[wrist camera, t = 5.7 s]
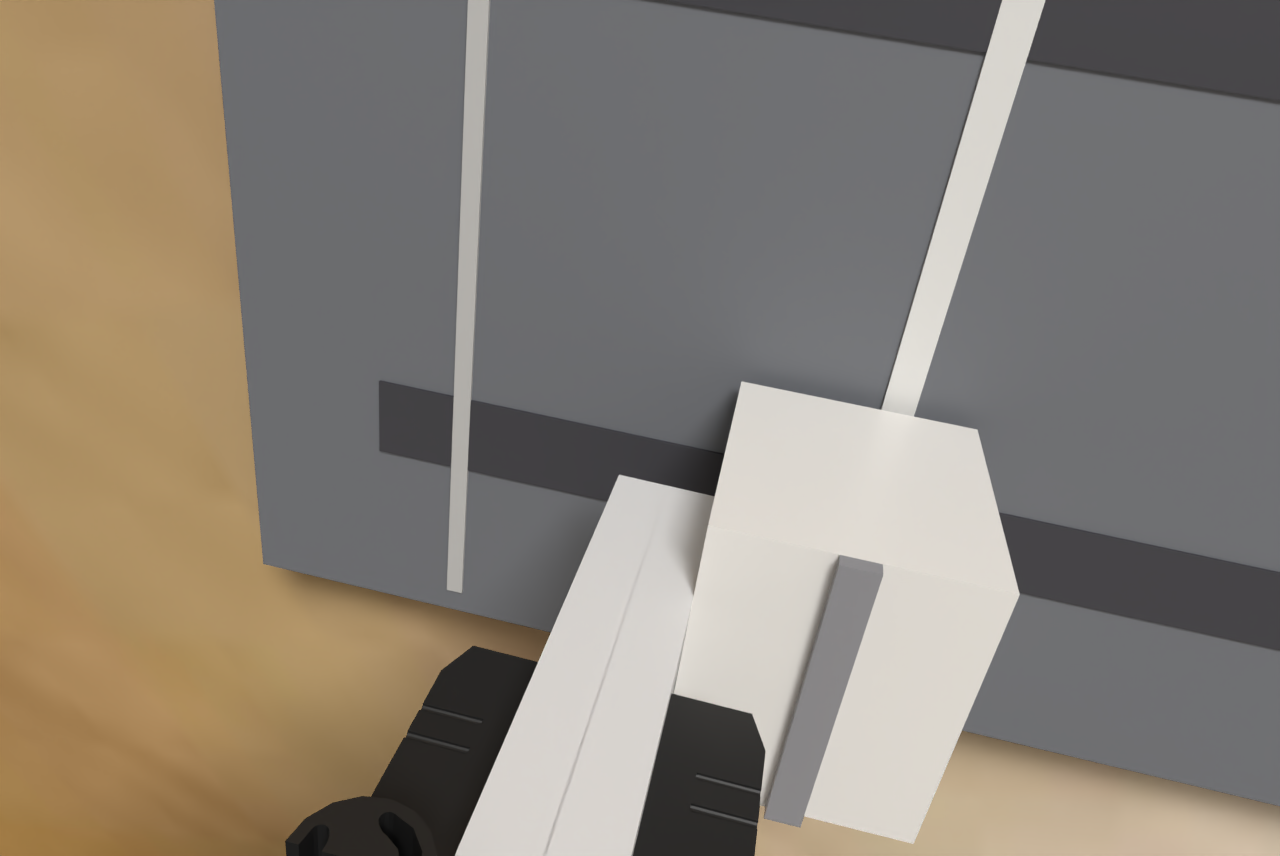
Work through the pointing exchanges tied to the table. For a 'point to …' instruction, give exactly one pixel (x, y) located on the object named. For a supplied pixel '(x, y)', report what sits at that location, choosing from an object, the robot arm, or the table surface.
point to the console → (786, 305)
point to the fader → (848, 603)
